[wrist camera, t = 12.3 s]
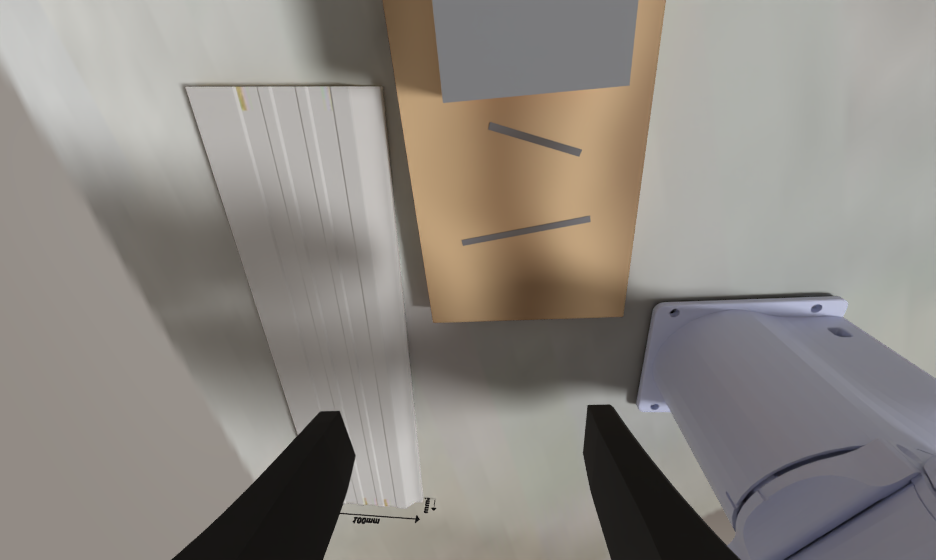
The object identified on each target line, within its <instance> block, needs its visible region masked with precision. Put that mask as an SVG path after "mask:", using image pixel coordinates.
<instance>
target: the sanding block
mask: <svg viewBox="0 0 936 560" xmlns="http://www.w3.org/2000/svg"><path fill="white" fill-rule="evenodd" d="M432 4H433V14H434V23H435V33H436V42H437V52H438V61H439V71H440V80H441V90H442V99H443V103H449V102H460V101H471V100H481V99H492V98H503V97H513V96H524V95H535V94H545V93H556V92H567V91H577V90H588V89H599V88H609V87H620V86H630V76H631V67H632V57H633V48H634V38H635V29H636V19H637V10H638V0H432Z"/></svg>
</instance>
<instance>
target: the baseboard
mask: <svg viewBox="0 0 936 560" xmlns="http://www.w3.org/2000/svg"><path fill="white" fill-rule="evenodd" d="M185 88H186V91H187V95H188V98H189V101H190V104H191V107H192V110H193V113H194V116H195V119H196V122H197V125H198V129H199V132H200V135H201V138H202V141H203V144H204V147H205V150H206V153H207V156H208V159H209V163H210V166H211V169H212V172H213V175H214V178H215V181H216V184H217V187H218V190H219V193H220V197H221V200H222V203H223V206H224V209H225V212H226V215H227V218H228V221H229V224H230V227H231V231H232V234H233V237H234V240H235V243H236V246H237V249H238V252H239V255H240V258H241V261H242V265H243V268H244V271H245V274H246V277H247V280H248V283H249V286H250V289H251V292H252V295H253V299H254V302H255V305H256V308H257V311H258V314H259V317H260V320H261V323H262V326H263V329H264V333H265V336H266V339H267V342H268V345H269V348H270V351H271V354H272V357H273V360H274V363H275V367H276V370H277V373H278V376H279V379H280V382H281V385H282V388H283V391H284V394H285V397H286V401H287V404H288V407H289V410H290V413H291V416H292V419H293V422H294V425H295V428H296V431H297V435H299V434H300V432H301V431H302V430H303V429H304V428H305V427H306V426H307V425H308V424H309V423H310V422H311V421H312V419H313V418H314V417H315V416H316V415H317V414H318V413H319V412H320V411H340V413H341V416H342V418H343V421H344V424H345V427H346V430H347V432H348V435H349V438H350V441H351V444H352V446H353V449H354V452H355V455H356V457H355V462H354V466H353V471H352V475H351V479H350V483H349V487H348V491H347V494H346V497H345V500H344V503H343V504H346V503H351V504H358V505H363V506H364V505H378V507H384V506H393V507H397V508H405V509H406V508H408V507H409V506H410V505H412V504H413V503H416V502H421V503H422V502H423V489H422V479H421V469H420V458H419V448H418V438H417V428H416V418H415V408H414V398H413V388H412V378H411V368H410V357H409V347H408V337H407V327H406V317H405V307H404V297H403V287H402V277H401V267H400V256H399V246H398V236H397V226H396V216H395V206H394V196H393V186H392V176H391V166H390V156H389V145H388V135H387V125H386V115H385V105H384V95H383V86H315V87H185ZM425 499H426V498H425ZM429 499H430V498H427V500H426V504H429V503H428V502H430V500H429ZM426 504H425V506H429V505H426ZM434 505H435V502H434ZM426 508H429V507H425V509H424V510H425V511H424V513H428V512H426V511H428V509H426ZM435 509H436V508H432V510H433V511H434V510H435ZM340 514H348V513H340ZM348 515H361V514H348ZM362 516H375V515H362ZM375 517H388V516H375ZM357 518H358V517H354V521H353V522H354V523H355V521H356V519H357ZM389 518H402V517H389ZM359 519H360V521H359ZM364 519H365V520H364ZM368 519H369V521H368ZM402 519H415V518H402ZM361 520H362V524H364V523H365V522H366V523H367V522H368V523H372V521H373V523H377V524H378V523H379V521H380V519H378V522H377V519H376V521H375V518H374V520H373V518H372V519H371V518H367V520H366V518H363V519H362V518H361V517H359V518H358V519H357V523H358V524H359V523H361ZM363 520H364V522H363ZM370 520H371V521H370ZM418 520H420V519H419V518H418V516H417V515H416V520H415V523H416V522H417V521H418Z"/></svg>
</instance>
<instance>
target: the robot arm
mask: <svg viewBox="0 0 936 560" xmlns="http://www.w3.org/2000/svg"><path fill="white" fill-rule="evenodd" d="M814 305H815V307H813V306H814ZM812 307H813V308H812ZM847 307H848V302H847V301H846V300H844V299H843V298H841V297H838V296H826V297H798V298H770V299H742V300H715V301H687V302H663V303H659V304H657V305H656V306H655V307H654V309H653V312H652V318H651V323H650V329H649V335H648V340H647V346H646V351H645V357H644V363H643V368H642V374H641V379H640V385H639V391H638V396H637V402H636V405H637V407H638V409H639V410H640V411H642V412H671V413H672V415H673V417H674V419H675V421H676V422H677V424H678V426H679V428H680V430H681V432H682V434H683V435H684V437H685V439H686V441H687V443H688V445H689V447H690V448H691V450H692V452H693V454H694V456H695V458H696V460H697V461H698V463H699V465H700V467H701V469H702V471H703V473H704V474H705V476H706V478H707V480H708V482H709V484H710V486H711V487H712V489H713V491H714V493H715V495H716V497H717V499H718V500H719V502H720V504H721V506H722V508H723V510H724V512H725V513H726V515H727V517H728V519H729V521H730V523H731V524H732V526H733V528H734V530H735V532H736V535H735V537H734V539H733V540H732V541H731V542H730V543H729V544H728V545H726V544H725V543H724V542H723V541H722V540H721V539H720V538H719V537H718V536H717V535H716V534H715V533H714V531H712V529H711V528H710V527H709V526H708V525H707V524H706V523H705V522H704V521H703V519H702V518H701V517H700V516H699V515H698V514H697V513H696V512H695V510H694V509H693V508H692V507H691V506H690V505H689V504H688V503H687V501H686V500H685V499H684V498H683V497H682V496H681V495H680V493H679V492H678V491H677V490H676V489H675V487H674V486H673V485H672V484H671V483H670V481H669V480H668V479H667V478H666V477H665V475H664V474H663V473H662V472H661V470H660V469H659V468H658V467H657V465H656V464H655V463H654V462H653V461H652V459H651V458H650V457H649V455H648V454H647V453H646V452H645V450H644V449H643V448H642V446H641V445H640V444H639V442H638V441H637V440H636V438H635V437H634V436H633V434H632V433H631V432H630V430H629V429H628V427H627V426H626V425H625V423H624V422H623V420H622V419H621V418H620V416H619V415H618V413H617V412H616V410H615V409H614V407H612V406H611V405H588V407H587V418H586V428H585V438H584V449H583V455H584V460H585V466H586V471H587V476H588V481H589V486H590V490H591V494H592V498H593V501H594V504H595V508H596V511H597V514H598V518H599V521H600V524H601V527H602V531H603V534H604V537H605V540H606V544H607V547H608V550H609V554H610V557H611V560H936V378H934V377H933V376H931V375H930V374H928V373H927V372H925V371H924V370H922V369H920V368H919V367H917V366H916V365H914V364H913V363H911V362H910V361H908V360H907V359H905V358H904V357H902V356H901V355H899V354H898V353H896V352H895V351H893V350H892V349H890V348H889V347H887V346H886V345H884V344H883V343H881V342H880V341H878V340H877V339H875V338H874V337H872V336H871V335H869V334H868V333H866V332H865V331H863V330H862V329H860V328H859V327H857V326H856V325H854V324H853V323H851V322H850V321H848V320H847V319H845V318H844V317H843V316H844V313H845V311H846V309H847ZM674 309H677V310H676V311H675V312H674V313H670V311H672V310H674ZM653 404H654V405H653ZM355 457H356V455H355V452H354V449H353V446H352V444H351V441H350V438H349V435H348V432H347V430H346V427H345V424H344V421H343V418H342V416H341V413H340V411H320V412H319V413H318V414H317V415H316V416H315V417H314V418H313V419H312V421H311V422H310V423H309V424H308V425H307V426H306V427H305V428H304V429H303V430H302V431H301V432H300V434H299V435H298V436H297V437H296V438H295V439H294V440H293V441H292V442H291V443H290V444H289V446H288V447H287V448H286V449H285V450H284V451H283V452H282V453H281V454H280V455H279V456H278V457H277V459H276V460H275V461H274V462H273V463H272V464H271V465H270V466H269V467H268V468H267V469H266V470H265V471H264V472H263V473H262V474H261V475H260V477H259V478H258V479H257V480H256V481H255V482H254V483H253V484H252V485H251V486H250V487H249V488H248V489H247V490H246V491H245V492H244V493H243V494H242V495H241V496H240V497H239V498H238V499H237V500H236V501H235V502H234V503H233V504H232V505H231V506H230V507H229V508H228V509H227V510H226V511H225V512H224V513H223V514H222V515H221V516H219V517H218V519H216V520H215V521H214V522H213V523H212V524H211V525H210V526H209V527H208V528H207V529H206V530H205V531H203V533H201V534H200V535H199V536H198V537H197V538H196V539H194V540H193V541H192V542H191V543H190V544H189V545H188V546H187V547H185V548H184V549H183V550H182V551H181V552H180V553H179V554H177V555H176V556H175V557H174V558H173V559H172V560H323V558H324V555H325V553H326V550H327V547H328V544H329V542H330V539H331V536H332V533H333V531H334V528H335V525H336V522H337V520H338V517H339V514H340V511H341V508H342V506H343V503H344V500H345V497H346V494H347V491H348V487H349V483H350V479H351V475H352V471H353V466H354V462H355Z"/></svg>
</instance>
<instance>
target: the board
mask: <svg viewBox="0 0 936 560" xmlns="http://www.w3.org/2000/svg"><path fill="white" fill-rule="evenodd" d="M665 3H666V0H638V10H637V19H636V29H635V38H634V48H633V57H632V67H631V76H630V86H620V87H609V88H599V89H588V90H577V91H567V92H556V93H545V94H535V95H524V96H513V97H503V98H492V99H481V100H471V101H460V102H449V103H443V99H442V90H441V80H440V71H439V61H438V52H437V42H436V33H435V23H434V14H433V4H432V0H383V7H384V13H385V19H386V26H387V32H388V39H389V45H390V51H391V58H392V64H393V70H394V77H395V83H396V89H397V96H398V102H399V109H400V115H401V121H402V128H403V134H404V140H405V147H406V153H407V159H408V166H409V172H410V178H411V185H412V191H413V198H414V204H415V210H416V217H417V223H418V229H419V236H420V242H421V248H422V255H423V261H424V268H425V274H426V280H427V287H428V293H429V299H430V306H431V312H432V318H433V323H446V322H477V321H507V320H538V319H569V318H600V317H623V314H624V307H625V299H626V292H627V284H628V277H629V270H630V262H631V255H632V247H633V240H634V233H635V225H636V218H637V210H638V203H639V195H640V188H641V181H642V173H643V166H644V158H645V151H646V144H647V136H648V129H649V121H650V114H651V107H652V99H653V92H654V84H655V77H656V70H657V62H658V55H659V47H660V40H661V33H662V25H663V18H664V10H665Z"/></svg>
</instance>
